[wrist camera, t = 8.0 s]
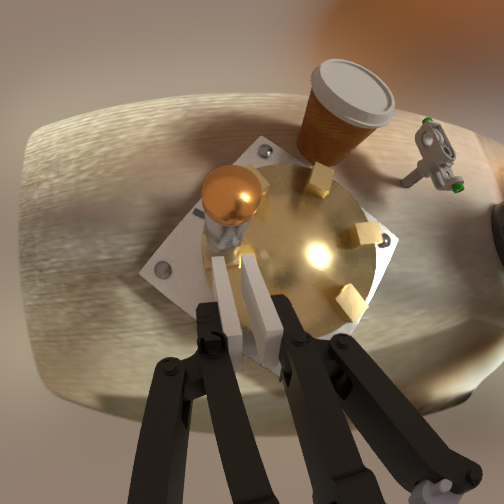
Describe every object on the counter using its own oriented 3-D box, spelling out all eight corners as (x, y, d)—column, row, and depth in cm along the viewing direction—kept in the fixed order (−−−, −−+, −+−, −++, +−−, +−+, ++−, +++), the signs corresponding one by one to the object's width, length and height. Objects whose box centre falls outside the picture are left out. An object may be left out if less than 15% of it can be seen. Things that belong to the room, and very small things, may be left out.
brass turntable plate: (384, 288, 27) (488, 257, 13) (251, 370, 23) (302, 421, 10) (313, 161, 29) (369, 71, 16) (175, 213, 26) (151, 112, 12)
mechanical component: (409, 217, 33) (458, 186, 24) (386, 153, 36) (424, 114, 26) (423, 215, 34) (470, 187, 24) (400, 154, 36) (437, 118, 27)
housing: (387, 244, 31) (400, 238, 29) (303, 391, 26) (313, 397, 23) (257, 147, 32) (261, 133, 29) (144, 278, 26) (137, 272, 23)
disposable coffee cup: (270, 142, 33) (296, 71, 21) (311, 110, 35) (341, 49, 24) (329, 191, 32) (379, 134, 21) (363, 152, 35) (408, 99, 23)
